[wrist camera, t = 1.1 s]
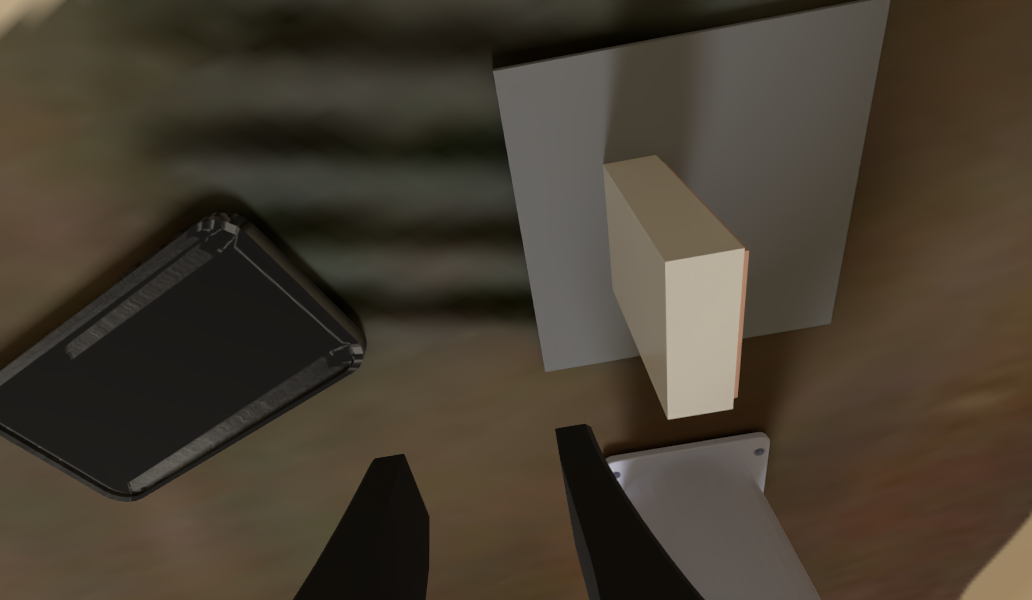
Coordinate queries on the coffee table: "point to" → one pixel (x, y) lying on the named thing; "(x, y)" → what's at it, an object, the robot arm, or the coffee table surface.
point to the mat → (695, 161)
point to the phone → (177, 361)
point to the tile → (676, 285)
